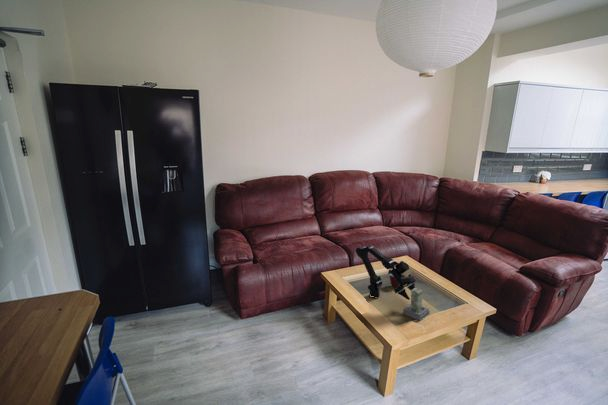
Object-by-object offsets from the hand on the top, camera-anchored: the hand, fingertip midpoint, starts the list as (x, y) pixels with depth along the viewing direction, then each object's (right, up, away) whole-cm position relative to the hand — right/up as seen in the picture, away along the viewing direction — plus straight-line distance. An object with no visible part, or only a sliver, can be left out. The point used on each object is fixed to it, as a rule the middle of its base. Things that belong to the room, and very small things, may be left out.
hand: (412, 297), depth 191 cm
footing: (+2, -11, 0) cm, 11 cm away
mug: (+2, -5, +38) cm, 39 cm away
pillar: (+2, -8, 0) cm, 9 cm away
